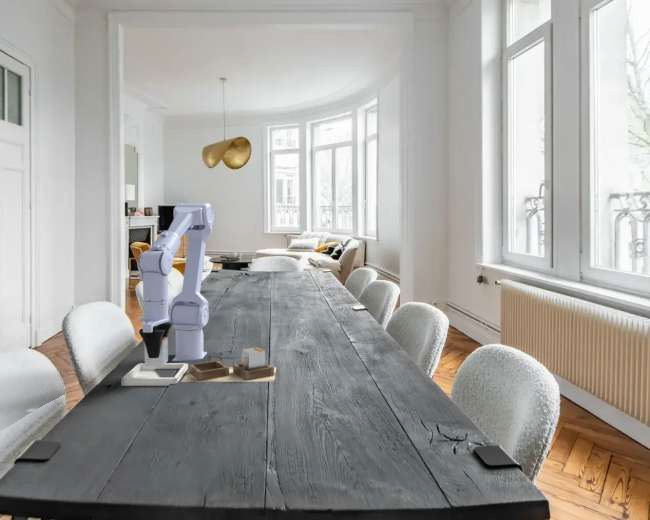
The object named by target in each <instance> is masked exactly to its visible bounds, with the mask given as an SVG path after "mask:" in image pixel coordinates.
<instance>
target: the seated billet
mask: <svg viewBox="0 0 650 520" xmlns="http://www.w3.org/2000/svg"><path fill="white" fill-rule="evenodd" d="M241 363H242V368H243V369H245V370H246V371H250V370H256V369H262V368H265V363H266V350H264V349H262V348H261V347H257V346H256V347H250V348H249V347H248V348H242V349H241Z"/></svg>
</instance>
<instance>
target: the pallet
mask: <svg viewBox="0 0 650 520" xmlns="http://www.w3.org/2000/svg"><path fill="white" fill-rule="evenodd" d="M276 373H277V366H272V365H270V364H268V363H267V362H265V368H262V369H256V370H250V371H246V370H245V369H243V368H242V362H241V363H233V364H232V366H227V364H224V363H223V362H221V361H220V360H217V359H216V360H211V361H202V362H198V363H197V362H196V363H191V364H189V363H188V370H187V373H186V374H185V375H184V377H183V378H182V380H181V382H180V383H246V382H247V383H249V382H250V383H252V382H253V383H254V382H255V383H259V382H260V383H261V382H262V383H266V382H267V383H270V382H271V383H273V382H274V383H275V379H276Z"/></svg>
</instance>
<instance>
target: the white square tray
mask: <svg viewBox="0 0 650 520" xmlns="http://www.w3.org/2000/svg"><path fill="white" fill-rule="evenodd" d="M157 370H178V371H177V373H176V374H175V375H174V376H173V377H163V376H162V375H161V374H160V373H159V372H158V371H157ZM188 370H189V362H186V363H185V362H181V363H180V362H179V363H177V362H172V363H171V362H169V363H168V362H166V363H165V365H164V366H145V362H144V363H142V362H138V364H136V365H135V366H134V367H132V369H130V370H129V371H128V372H127V373H126V374H125V375H124V376H122V378H121V379H120V380H121V386H122V387H123V386H125V387H129V386H130V387H133V386H146V387H147V386H148V387H149V386H150V387H151V386H152V387H154V386H159V387H160V386H170V387H171V385H177V384H178V382H179V381H180V380H181V378H182V377H183V376H184V374H185V373H186V372H187V371H188Z"/></svg>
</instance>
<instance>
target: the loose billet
mask: <svg viewBox="0 0 650 520" xmlns="http://www.w3.org/2000/svg"><path fill="white" fill-rule="evenodd" d="M143 345H144V363H145V366H164V365H165V363H168V362H169V338H168V336H167V337H162V339H161V344H160V352H159V357H158V358H149V357H148V353H147V349H146V346H145V343H144V342H143Z"/></svg>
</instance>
